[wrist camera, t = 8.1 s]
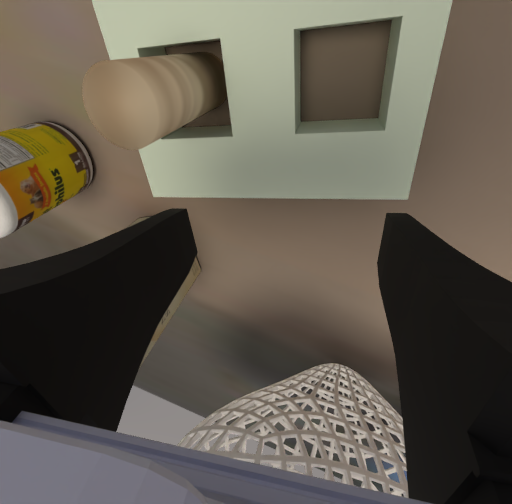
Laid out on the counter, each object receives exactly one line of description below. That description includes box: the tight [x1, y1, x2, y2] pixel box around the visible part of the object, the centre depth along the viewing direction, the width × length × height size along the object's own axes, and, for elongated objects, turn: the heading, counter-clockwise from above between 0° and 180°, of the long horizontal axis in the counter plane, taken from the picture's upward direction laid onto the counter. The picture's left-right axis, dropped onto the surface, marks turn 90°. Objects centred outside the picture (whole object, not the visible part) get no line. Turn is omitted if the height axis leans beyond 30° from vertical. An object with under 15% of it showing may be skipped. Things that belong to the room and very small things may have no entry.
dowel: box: [82, 52, 227, 150], centre depth 14 cm, size 3×3×9 cm
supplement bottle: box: [0, 122, 93, 238], centre depth 19 cm, size 6×6×10 cm
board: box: [92, 0, 453, 200], centre depth 16 cm, size 16×12×3 cm
